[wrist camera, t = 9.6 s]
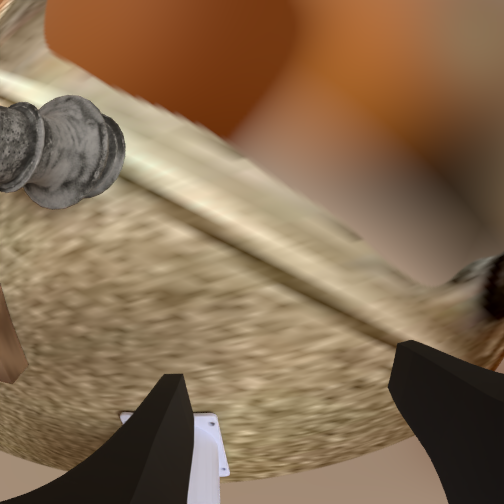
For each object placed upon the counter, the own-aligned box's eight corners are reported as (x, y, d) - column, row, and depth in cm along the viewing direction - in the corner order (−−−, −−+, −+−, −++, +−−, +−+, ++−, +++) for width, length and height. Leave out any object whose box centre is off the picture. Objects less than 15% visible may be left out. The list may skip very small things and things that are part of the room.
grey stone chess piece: (149, 139, 15) (16, 77, 3) (95, 221, 16) (-56, 292, 4) (83, 92, 14) (-52, 26, 2) (36, 171, 15) (-112, 185, 3)
